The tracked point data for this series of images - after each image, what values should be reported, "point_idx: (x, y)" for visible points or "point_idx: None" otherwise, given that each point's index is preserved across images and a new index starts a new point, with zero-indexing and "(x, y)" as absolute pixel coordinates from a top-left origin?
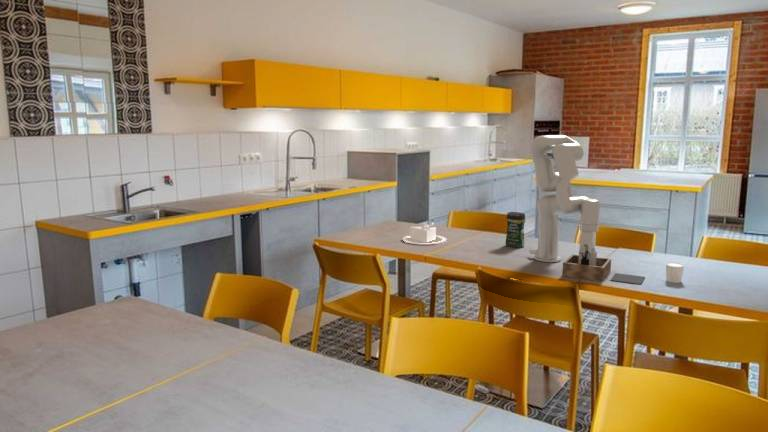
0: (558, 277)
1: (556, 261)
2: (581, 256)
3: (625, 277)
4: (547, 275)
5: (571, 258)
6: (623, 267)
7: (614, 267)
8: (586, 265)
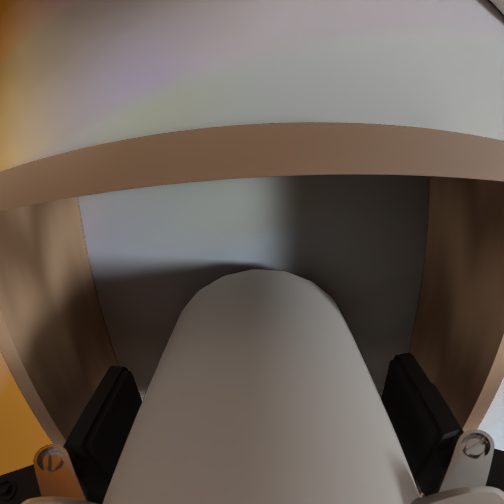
0: (12, 162)
1: (500, 8)
2: (117, 467)
3: None
4: (23, 64)
5: (381, 172)
6: (494, 424)
7: (494, 401)
8: (52, 440)
